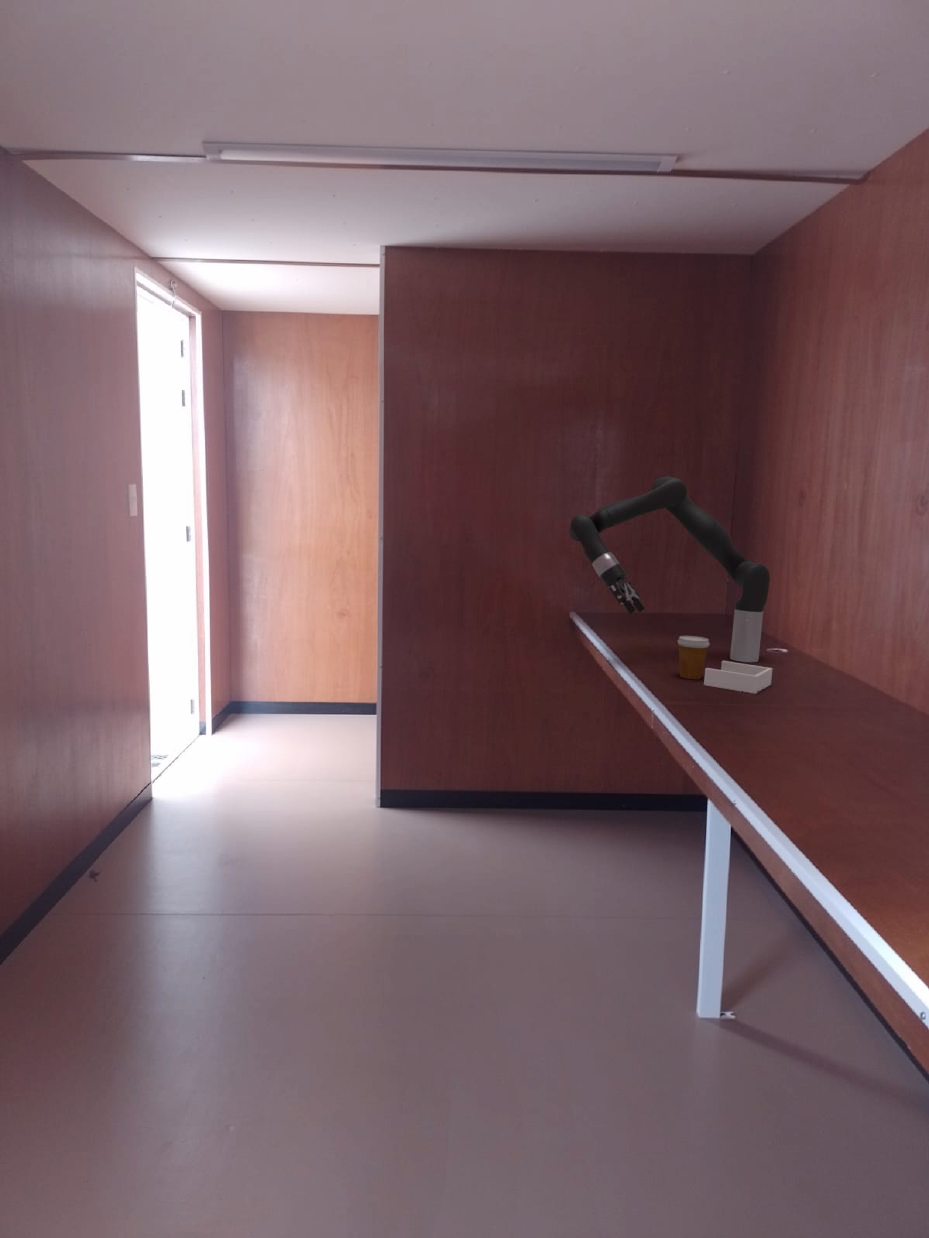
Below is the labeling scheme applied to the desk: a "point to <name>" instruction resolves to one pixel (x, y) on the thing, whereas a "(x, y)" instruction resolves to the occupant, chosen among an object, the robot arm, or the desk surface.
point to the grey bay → (739, 677)
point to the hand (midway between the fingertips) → (638, 611)
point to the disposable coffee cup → (692, 656)
